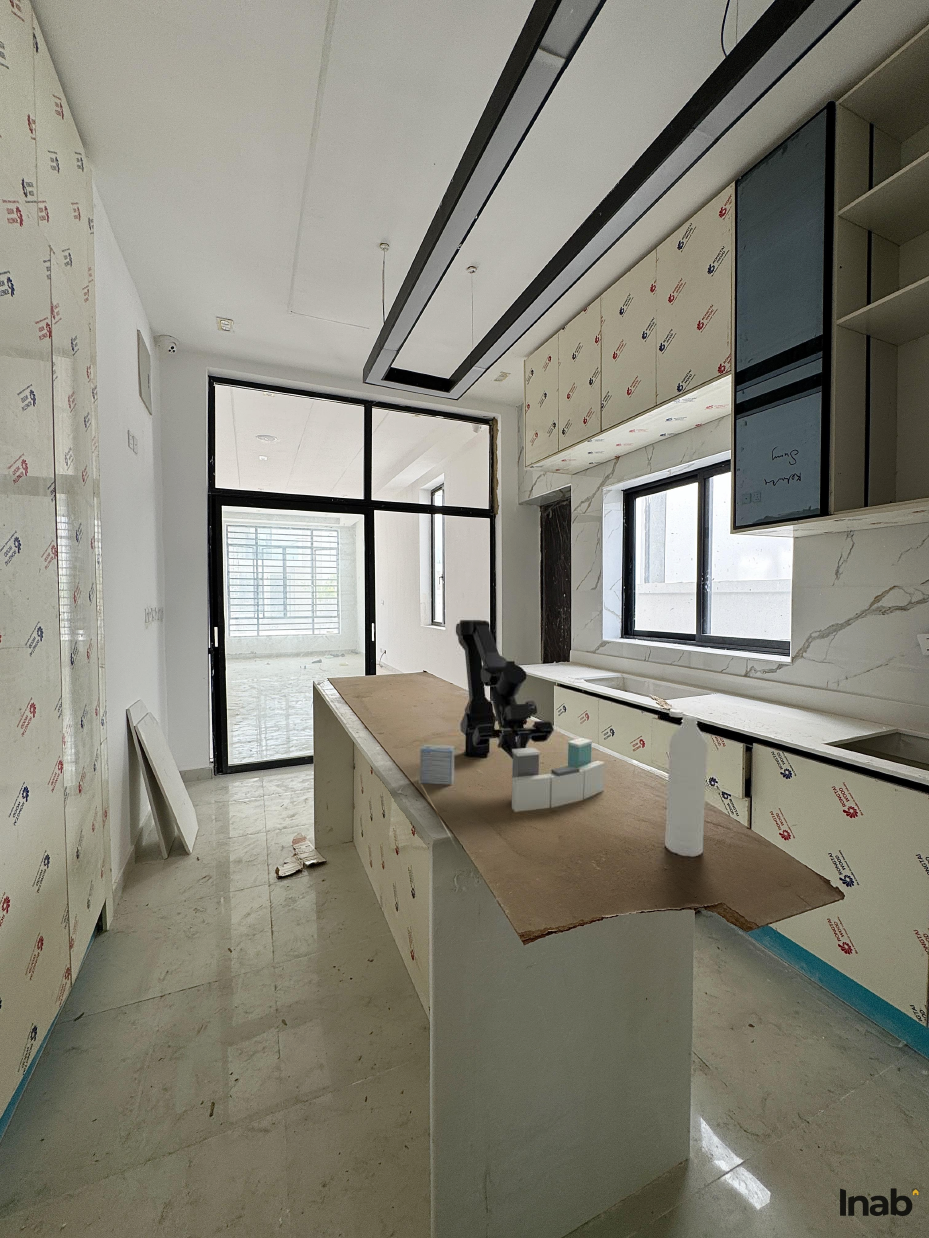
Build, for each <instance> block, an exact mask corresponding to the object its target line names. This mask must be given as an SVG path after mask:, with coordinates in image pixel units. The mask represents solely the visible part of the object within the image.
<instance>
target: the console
mask: <svg viewBox="0 0 929 1238" xmlns="http://www.w3.org/2000/svg"><path fill="white" fill-rule="evenodd" d="M605 765H606V763H605V762H604V761H601V760H595V761H591V763H589V764H587V765H584V766H581V767H579V768H577V767H575V766H573V765H571V766H568V765H567V766H562V767H561V766H560V767H557V768H552V769H551V773H547V774H539V775H533V776H522V777H512V776H511V777H512V778H511V809H512V810H513V812H515V813H516V812H517V813H518V812H525V811H533V810H534V811H535V810H543V809H550V808H551V809H553V808H556V807H561V806H564V805H567V804H573V803H576V802H580V801H583V800H586V799H588V798H590V797H593V796H595V795H597V794H599V793H602V792H603V791H604V790H605V769H606V768H605V767H606V766H605Z"/></svg>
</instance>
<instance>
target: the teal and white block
mask: <svg viewBox="0 0 929 1238" xmlns="http://www.w3.org/2000/svg"><path fill="white" fill-rule="evenodd" d="M567 744H568V745H567V746H568V750H567V751H568V754H567V766H571V765H573V766H575V767H577V768H579V767H581V766H584V765H587V764H589V763H592V744H593V740H592V739H588V738H584V737H579V738H576V739H572V740H568V741H567Z"/></svg>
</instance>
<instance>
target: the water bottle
mask: <svg viewBox="0 0 929 1238" xmlns="http://www.w3.org/2000/svg"><path fill="white" fill-rule="evenodd" d="M669 716H670V717H674V718H682V720H681V722H682V723H681V724H680V726H679V727H677V728H676V730H675V731H674V732H673V734H672V735H671V736H670V739H669V744H668V745H669V747H668V748H669V749H668V750H669V754H668V757H669V758H668V773H667V774H668V775H667V776H668V777H667V778H668V779H667V792H666V793H667V794H666V801H667V803H666V815H665V820H666V822H665V835H664V836H665V837H664V844H665V847H666V848H667V849H668V851H670V852H672V853H674V854H677V855H679V856H682V857H691V858H692V857H697V856H700V855H701V854H702V853H703V850H704V824H705V806H706V798H705V797H706V784H707V783H706V782H707V781H706V779H707V766H708V765H707V763H708V762H707V761H708V741H707V740H706V737H705V736H704V735H703V733H702V731H701V729H700V728H699V727H698V725H697V724H698V721H697V717H696V716H695V715H694V716H693V715H684V711H683V710H681V709H672V708H671V709H669Z"/></svg>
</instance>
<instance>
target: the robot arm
mask: <svg viewBox="0 0 929 1238" xmlns="http://www.w3.org/2000/svg"><path fill="white" fill-rule="evenodd" d="M490 625H491V624H490V622H489V621H487V620H483V619H482V620H481V619H461V620H460V621H459V623H456V625H455V635H456V636H457V640H458V644H459V645H460V646H461V647H462V649H463V650H464V655H465V667H466V678H467V687H468V689H467V690H468V697H469V699H468V701H467V703H466V705H465V707H464V714H463V716H462V718H461V721H460V725H459V726H460V731H461V733H462V734H463V735H464V736H465V740H464V741H465V742H464V743H465V744H464V745H465V747H464V748H465V749H464V757H476V758H478V757H479V758H480V757H481V758H488V754H490V752H491V751H490V749H491V747H490V746H491V739H497V740H498V743H497V748H498V749H501V750H503V751H504V752H505V753H506V754H507V755H508V756H509V757H510V758H511V759H512V760H513V752H512V749H521V748H527V745H528V743H529V742H530V741H532V742H534V743H542V742H543V743H544V742H546V741H548V739H550V737H551V735H552V734H553V732H554V731H555V728H554V726H553V723H552V722H551V721H550V720H536V721H534V723H533V725H532V726H531V727H525V725H527V723H528V720H527V719H531V718H532V716H535V715H537V713H538V708H537V704H536V702H535V700H528V701H526V702H525V703H518V701H517V698H516V696H517V695H518V694H519V693H520V691H521V689H522V687H523V686H524V683H525V681H526V679H527V672H526V670H525V669H523V667H521V666H520V665H518V664H516V663H515V661H514V660H513V661H512V660H507V659H506V658H505V657H503V656H502V655H501V654H500V652H499V649H498V648H497V645H496V642H495V641H494V636H493V635H492V632H491V629H490V628H491V626H490ZM485 687H493V688H492V689H491V690H490V697H489V699H488V698H487V697H486V689H485ZM496 722H497V725H498V729H496V728H495V727H496Z"/></svg>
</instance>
